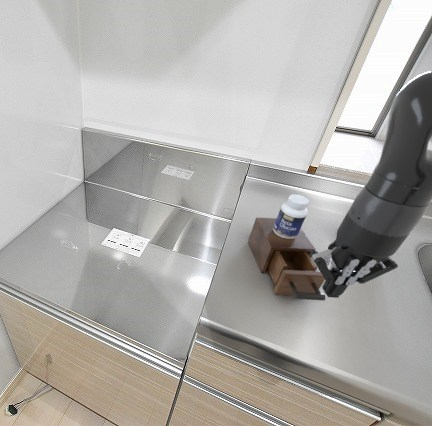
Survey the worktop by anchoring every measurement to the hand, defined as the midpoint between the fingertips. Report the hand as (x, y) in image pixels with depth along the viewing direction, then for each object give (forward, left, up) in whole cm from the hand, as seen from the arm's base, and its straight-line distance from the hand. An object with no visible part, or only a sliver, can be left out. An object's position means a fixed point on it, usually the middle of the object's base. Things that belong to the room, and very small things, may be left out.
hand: (330, 293), depth 53 cm
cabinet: (+17, -11, -11) cm, 23 cm away
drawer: (+9, -6, -10) cm, 15 cm away
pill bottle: (+17, -11, -3) cm, 20 cm away
